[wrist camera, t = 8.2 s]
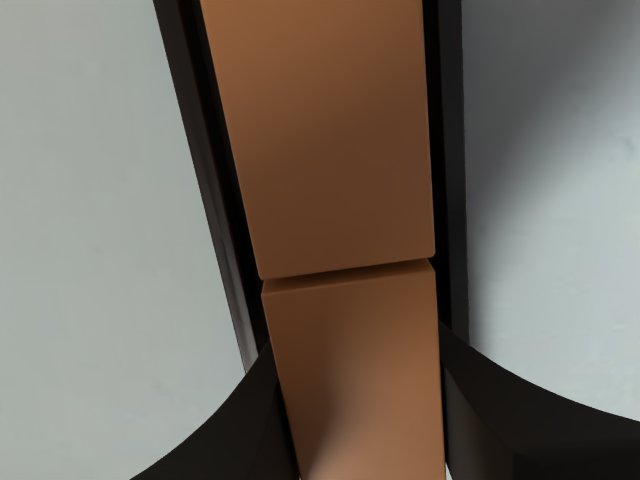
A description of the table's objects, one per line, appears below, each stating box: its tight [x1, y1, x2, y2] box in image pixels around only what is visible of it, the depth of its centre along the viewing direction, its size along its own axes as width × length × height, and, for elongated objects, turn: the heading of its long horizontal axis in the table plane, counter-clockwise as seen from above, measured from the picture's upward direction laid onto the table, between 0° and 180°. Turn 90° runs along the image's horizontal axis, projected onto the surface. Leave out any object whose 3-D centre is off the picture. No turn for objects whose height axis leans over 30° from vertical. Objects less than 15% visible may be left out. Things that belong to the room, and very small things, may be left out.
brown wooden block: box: [200, 0, 435, 280], centre depth 9 cm, size 3×8×5 cm, turn 8°
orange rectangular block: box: [261, 258, 446, 480], centre depth 12 cm, size 3×8×5 cm, turn 8°
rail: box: [153, 0, 470, 374], centre depth 13 cm, size 7×18×2 cm, turn 8°
